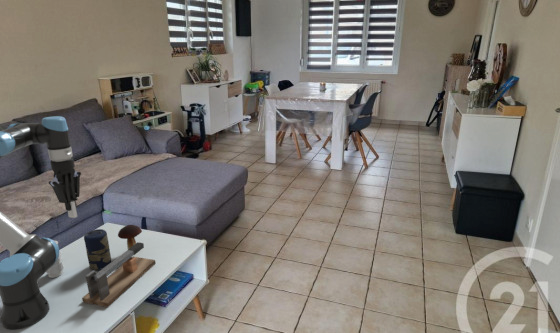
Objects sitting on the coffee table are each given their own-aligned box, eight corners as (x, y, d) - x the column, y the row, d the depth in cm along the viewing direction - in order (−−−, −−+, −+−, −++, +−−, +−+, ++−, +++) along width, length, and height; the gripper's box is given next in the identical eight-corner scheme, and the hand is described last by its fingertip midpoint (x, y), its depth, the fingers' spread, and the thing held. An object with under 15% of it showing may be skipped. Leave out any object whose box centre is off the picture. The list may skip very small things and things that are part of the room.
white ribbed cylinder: (44, 274, 166) (38, 244, 161) (61, 267, 171) (55, 238, 166) (49, 280, 161) (42, 250, 157) (66, 273, 166) (60, 244, 162)
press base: (82, 302, 147) (77, 276, 143) (133, 260, 176) (130, 237, 173) (107, 307, 144) (103, 281, 140) (155, 263, 173) (152, 241, 170)
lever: (91, 281, 145) (90, 277, 144) (137, 246, 172) (137, 242, 171) (99, 283, 144) (98, 278, 143) (144, 247, 171) (143, 243, 170)
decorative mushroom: (130, 260, 176) (126, 232, 171) (116, 254, 181) (111, 227, 177) (149, 250, 185) (145, 223, 180) (134, 244, 190) (131, 218, 186)
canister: (103, 272, 167) (96, 236, 161) (84, 270, 169) (78, 235, 163) (116, 261, 176) (110, 227, 170) (98, 259, 178) (92, 225, 172)
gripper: (55, 164, 129) (67, 225, 136) (83, 154, 141) (93, 211, 148) (38, 163, 131) (51, 223, 138) (67, 153, 143) (78, 209, 150)
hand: (73, 216), depth 143 cm, fingers closed
